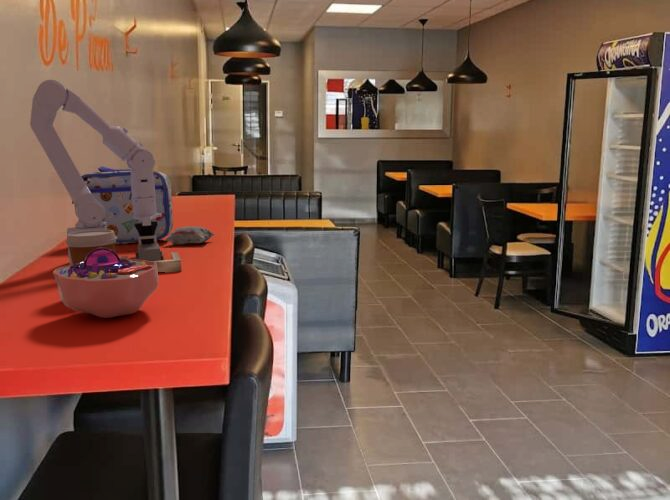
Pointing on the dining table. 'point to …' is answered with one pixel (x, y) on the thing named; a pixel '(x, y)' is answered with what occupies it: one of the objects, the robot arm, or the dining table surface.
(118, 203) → the lunch box
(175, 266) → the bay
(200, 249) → the dining table surface
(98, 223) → the robot arm
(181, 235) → the packaged food
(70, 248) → the disposable coffee cup
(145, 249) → the grey box with knobs
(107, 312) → the cell model
